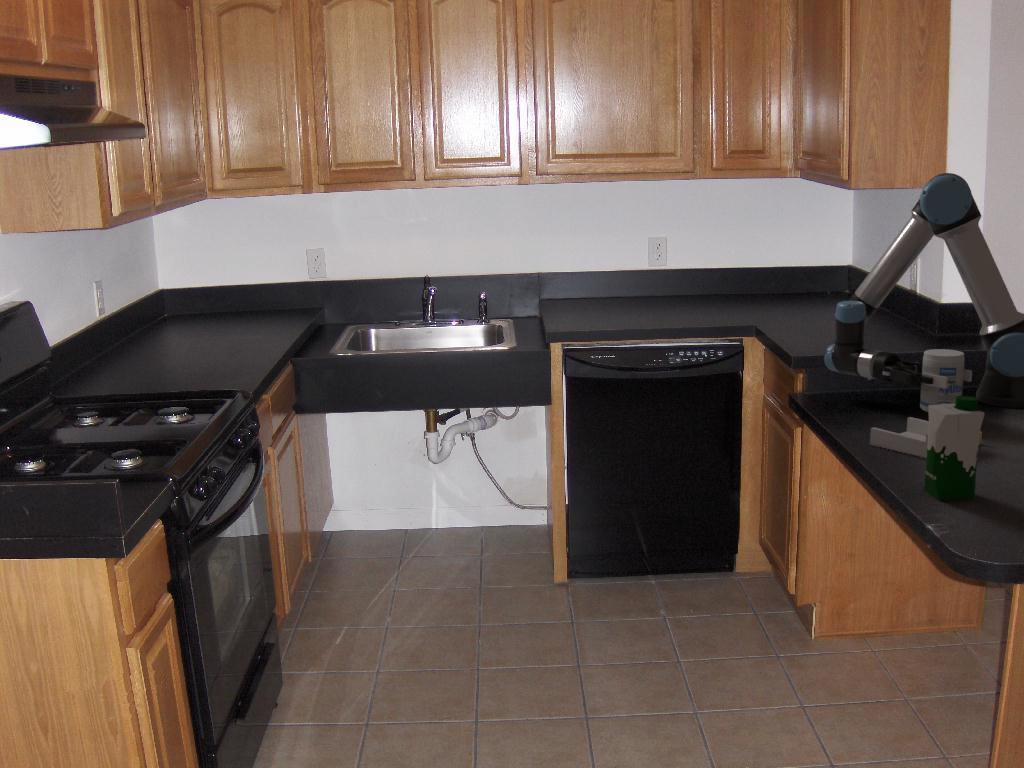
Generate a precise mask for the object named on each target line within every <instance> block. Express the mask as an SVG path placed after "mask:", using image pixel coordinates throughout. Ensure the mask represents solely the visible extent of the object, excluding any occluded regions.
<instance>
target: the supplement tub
mask: <svg viewBox="0 0 1024 768" xmlns="http://www.w3.org/2000/svg"><path fill="white" fill-rule="evenodd" d="M922 362H923V366H922V373H927V374H933V375H938V376H944V377H948V384H947V388H946V389H945V388H939V387H934V386H929V385H923V384H921V383H920V398H919V399H920V400H919V407H920V409H921V410H922V411H924V412H927V413H929V406H928V405H940V404H956V397H957V396H963V389H964V388H963V386H964V381H963V375H964V369H965V353H964V352H963V351H959V350H957V349H945V348H943V349H941V348H937V349H936V348H935V349H927V350H925V351H924V352H923V356H922Z"/></svg>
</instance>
